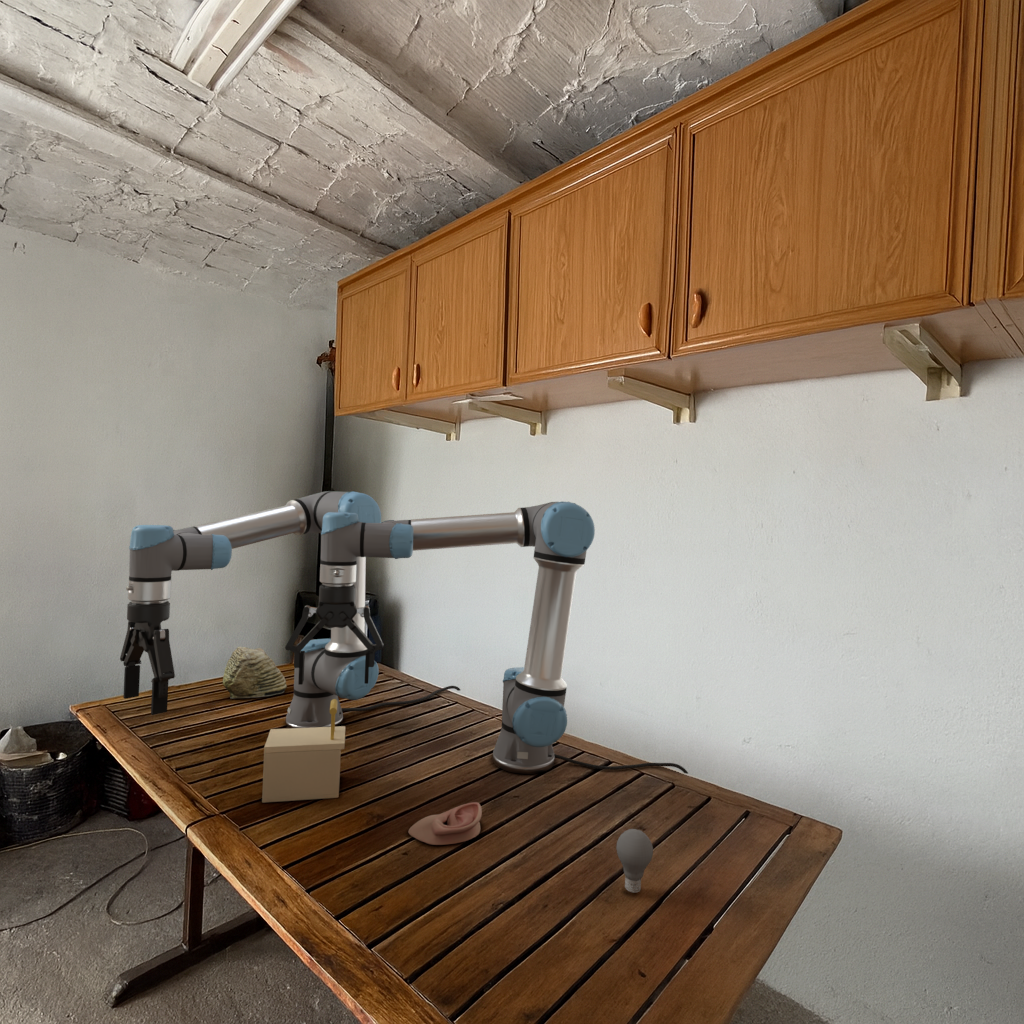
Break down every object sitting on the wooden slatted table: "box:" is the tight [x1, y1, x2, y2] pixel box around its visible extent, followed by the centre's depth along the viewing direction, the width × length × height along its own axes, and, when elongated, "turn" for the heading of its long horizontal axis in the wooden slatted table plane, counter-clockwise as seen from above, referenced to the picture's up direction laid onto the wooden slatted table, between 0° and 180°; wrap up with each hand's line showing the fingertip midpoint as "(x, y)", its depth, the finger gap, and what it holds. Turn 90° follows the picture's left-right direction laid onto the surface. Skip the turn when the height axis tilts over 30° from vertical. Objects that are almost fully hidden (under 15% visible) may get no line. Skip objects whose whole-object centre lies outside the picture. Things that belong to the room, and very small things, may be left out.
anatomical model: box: [407, 801, 483, 846], centre depth 122 cm, size 13×4×12 cm
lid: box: [263, 699, 346, 754], centre depth 137 cm, size 16×10×8 cm, turn 104°
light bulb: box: [615, 828, 654, 894], centre depth 106 cm, size 6×6×10 cm
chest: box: [261, 749, 342, 803], centre depth 137 cm, size 15×10×10 cm
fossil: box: [222, 646, 288, 699], centre depth 198 cm, size 9×18×15 cm, turn 132°
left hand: (144, 705), depth 129 cm, fingers open, 13 cm apart
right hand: (334, 682), depth 136 cm, fingers open, 13 cm apart
